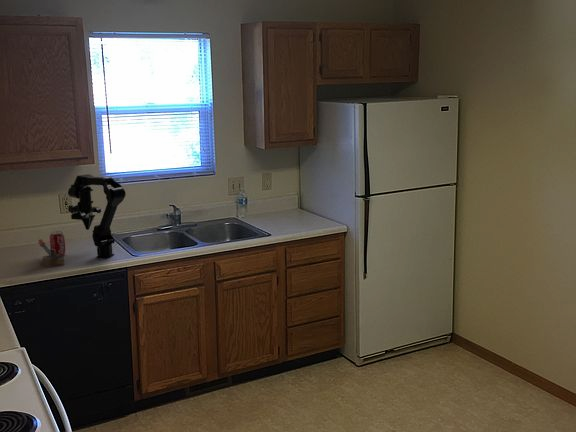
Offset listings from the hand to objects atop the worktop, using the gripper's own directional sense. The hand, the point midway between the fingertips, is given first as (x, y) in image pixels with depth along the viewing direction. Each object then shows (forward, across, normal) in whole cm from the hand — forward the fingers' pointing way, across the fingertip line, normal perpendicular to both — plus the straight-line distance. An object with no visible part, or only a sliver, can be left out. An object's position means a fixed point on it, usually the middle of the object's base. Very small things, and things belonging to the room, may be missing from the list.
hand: (87, 229), depth 326 cm
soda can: (+12, +9, -12) cm, 19 cm away
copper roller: (+9, +22, -6) cm, 25 cm away
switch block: (+12, +22, -6) cm, 26 cm away
